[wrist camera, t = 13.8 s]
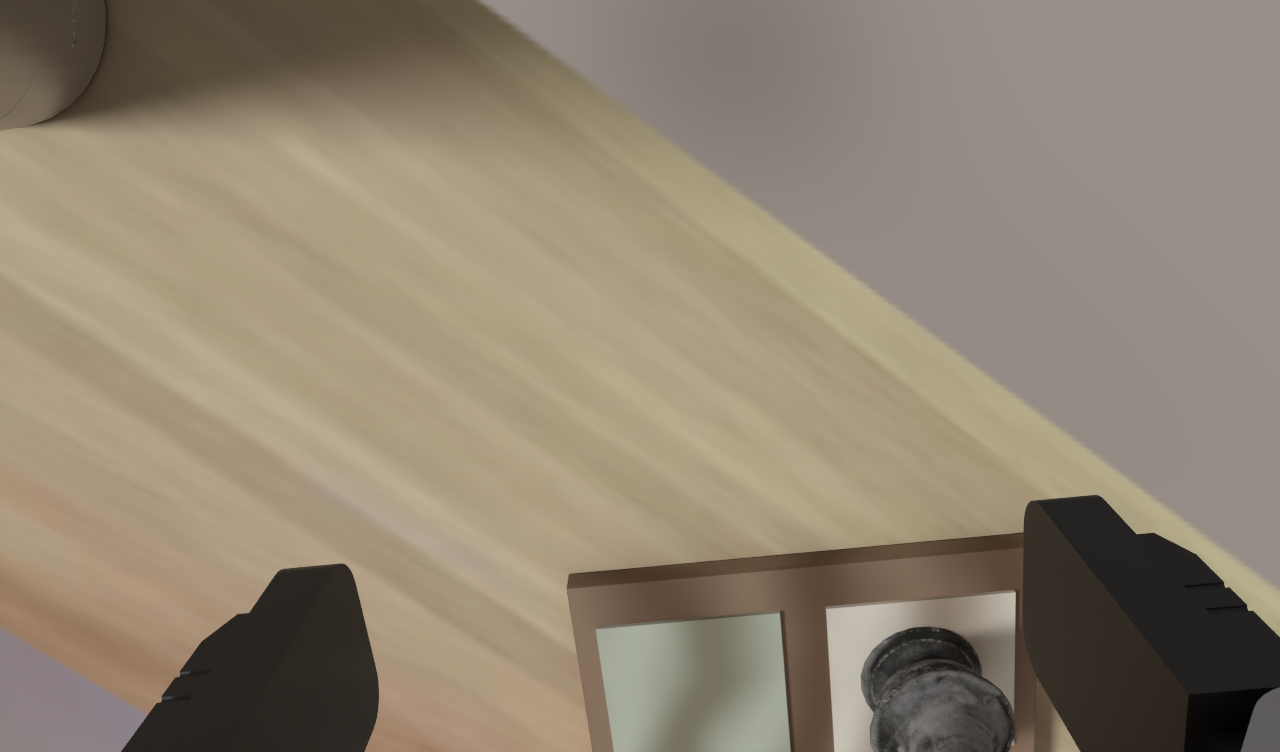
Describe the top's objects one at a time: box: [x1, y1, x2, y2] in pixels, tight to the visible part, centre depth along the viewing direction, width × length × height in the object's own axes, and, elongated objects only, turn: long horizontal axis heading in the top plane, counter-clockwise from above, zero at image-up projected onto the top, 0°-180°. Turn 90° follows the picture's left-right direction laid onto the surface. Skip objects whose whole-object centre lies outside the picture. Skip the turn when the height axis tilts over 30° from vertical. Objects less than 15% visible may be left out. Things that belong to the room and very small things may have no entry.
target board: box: [567, 533, 1036, 752], centre depth 45 cm, size 20×12×1 cm, turn 96°
